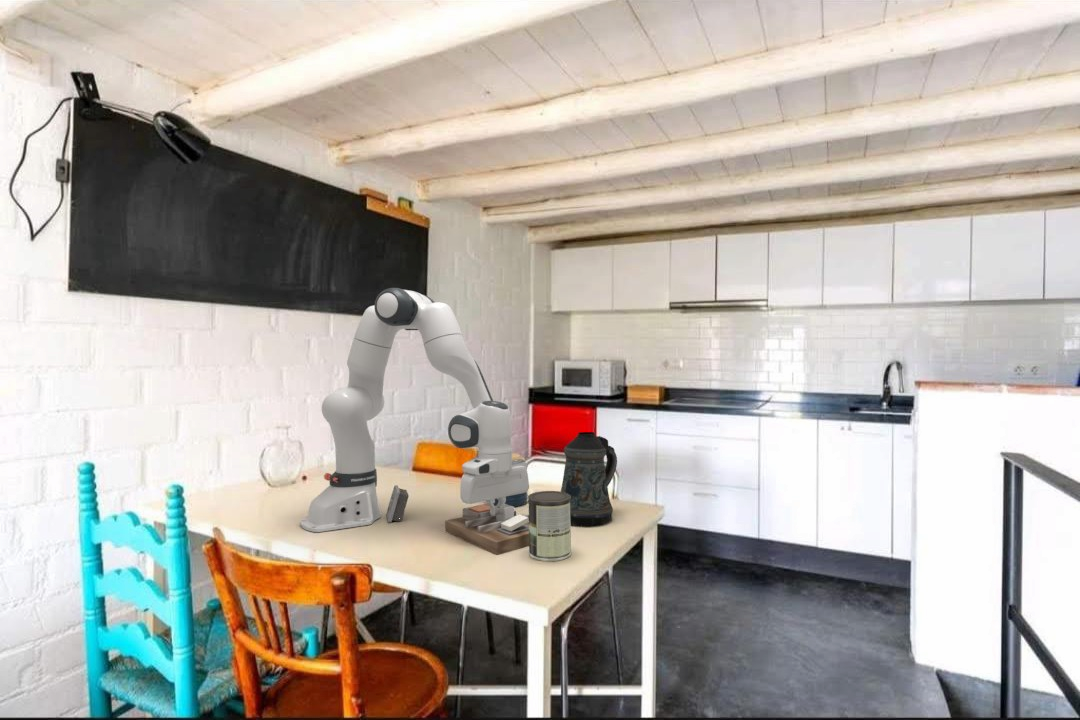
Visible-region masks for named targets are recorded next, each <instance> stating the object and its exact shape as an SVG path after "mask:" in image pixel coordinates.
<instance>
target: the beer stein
mask: <svg viewBox="0 0 1080 720" xmlns="http://www.w3.org/2000/svg"><path fill="white" fill-rule="evenodd" d="M563 448H564V449H563V451H564V456H565V464H564V470H563V478H562V484H561V489H560V492H565V493H568V494H569V495H570V496H571V500H570V516H571V527H577V528H578V527H579V528H581V527H582V528H592V527H600V526H604V525H607V524H609V523H611V521H612V515H613V512H614V507H613V506H612V502H611V500H610V496H609V494H610V493H609V488H608V487H609V485H610V483H611V481H612V480H613V477H614V475H615V474H616V470H617V466H618V457H617V454H616V452H615V448H614V447H612V446H611V445H609V440H608V439H607V438H606V437H602V436H601V435H599V436H598V435H596V433H595V432H592V431H584V432H583V431H581V432H577V435H576V437H575V438H574V439H572V440H571V441H570V442H569V443H568V444H566V445H565V447H563ZM605 456H606V464H605Z"/></svg>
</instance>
